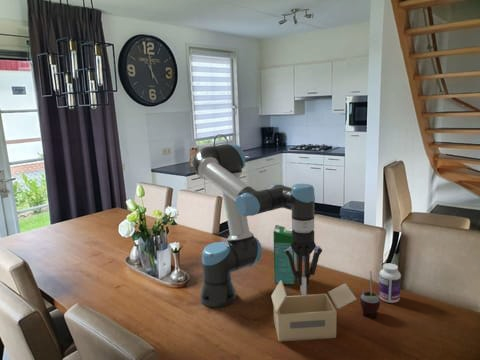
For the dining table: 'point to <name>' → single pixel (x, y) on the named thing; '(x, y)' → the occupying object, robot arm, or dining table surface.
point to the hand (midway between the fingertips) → (303, 292)
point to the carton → (305, 318)
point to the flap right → (341, 296)
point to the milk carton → (283, 255)
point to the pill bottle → (389, 283)
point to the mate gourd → (370, 302)
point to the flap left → (278, 296)
